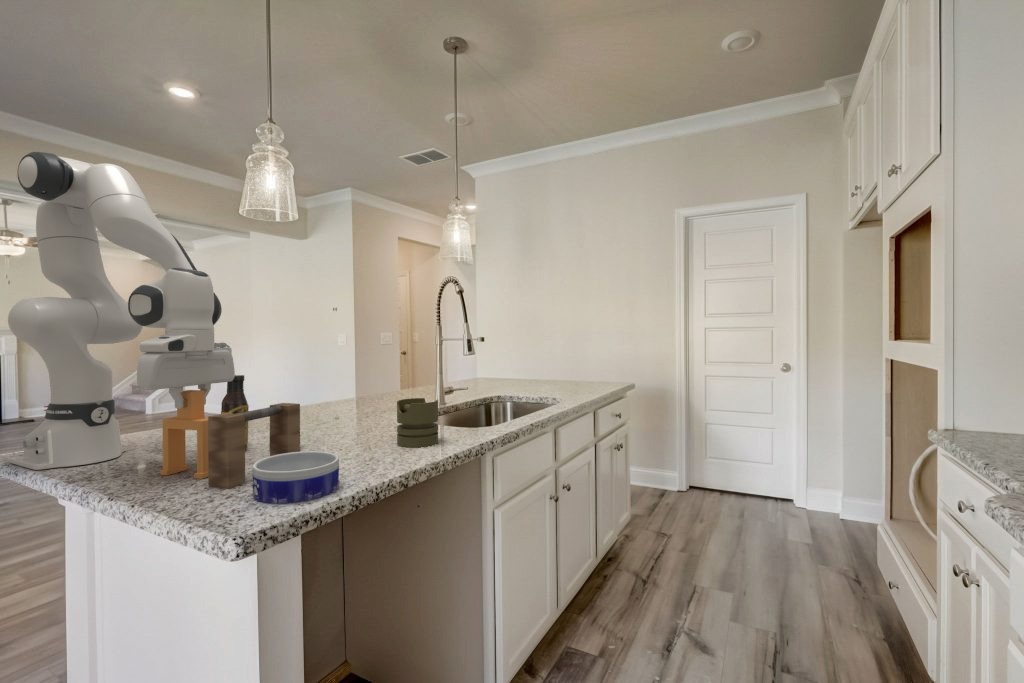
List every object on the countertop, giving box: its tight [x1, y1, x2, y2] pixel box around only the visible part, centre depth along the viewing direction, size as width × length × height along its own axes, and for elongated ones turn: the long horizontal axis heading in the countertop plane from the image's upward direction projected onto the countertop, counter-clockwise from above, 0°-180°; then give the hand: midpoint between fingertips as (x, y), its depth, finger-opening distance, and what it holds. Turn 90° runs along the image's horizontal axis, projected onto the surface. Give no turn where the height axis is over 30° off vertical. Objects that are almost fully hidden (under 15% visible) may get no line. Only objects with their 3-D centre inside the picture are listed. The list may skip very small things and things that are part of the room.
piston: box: [396, 397, 439, 449], centre depth 132 cm, size 11×12×11 cm
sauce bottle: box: [220, 374, 249, 451], centre depth 123 cm, size 6×6×20 cm
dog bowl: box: [251, 450, 340, 505], centre depth 91 cm, size 15×15×6 cm
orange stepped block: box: [159, 389, 208, 480], centre depth 102 cm, size 12×5×18 cm, turn 75°
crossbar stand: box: [207, 402, 301, 490], centre depth 102 cm, size 5×20×14 cm, turn 165°
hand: (190, 406), depth 102 cm, fingers closed on orange stepped block, 3 cm apart
